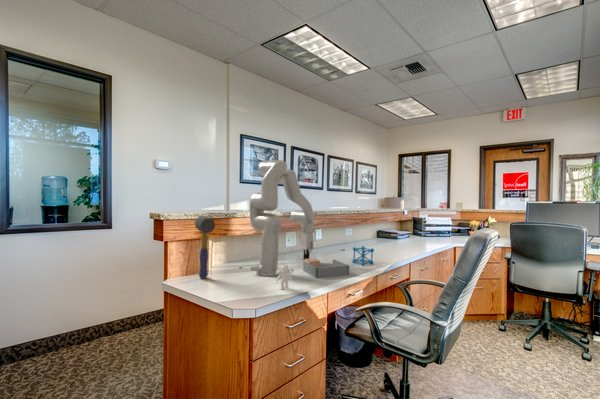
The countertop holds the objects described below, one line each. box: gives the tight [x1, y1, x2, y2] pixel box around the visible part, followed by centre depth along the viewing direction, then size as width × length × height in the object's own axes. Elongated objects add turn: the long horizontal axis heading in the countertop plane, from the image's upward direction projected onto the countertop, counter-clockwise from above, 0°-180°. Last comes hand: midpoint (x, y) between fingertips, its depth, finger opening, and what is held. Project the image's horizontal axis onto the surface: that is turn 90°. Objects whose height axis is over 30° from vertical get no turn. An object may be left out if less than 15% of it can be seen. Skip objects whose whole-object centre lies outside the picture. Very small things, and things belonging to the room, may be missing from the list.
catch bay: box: [302, 258, 350, 279], centre depth 167 cm, size 20×15×5 cm
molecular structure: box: [351, 246, 375, 267], centre depth 193 cm, size 10×10×10 cm
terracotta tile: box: [304, 257, 321, 268], centre depth 181 cm, size 7×7×4 cm
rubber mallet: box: [194, 216, 216, 279], centre depth 149 cm, size 12×8×30 cm, turn 33°
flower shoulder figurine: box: [275, 262, 295, 291], centre depth 138 cm, size 9×4×12 cm, turn 128°
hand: (306, 260), depth 188 cm, fingers closed
